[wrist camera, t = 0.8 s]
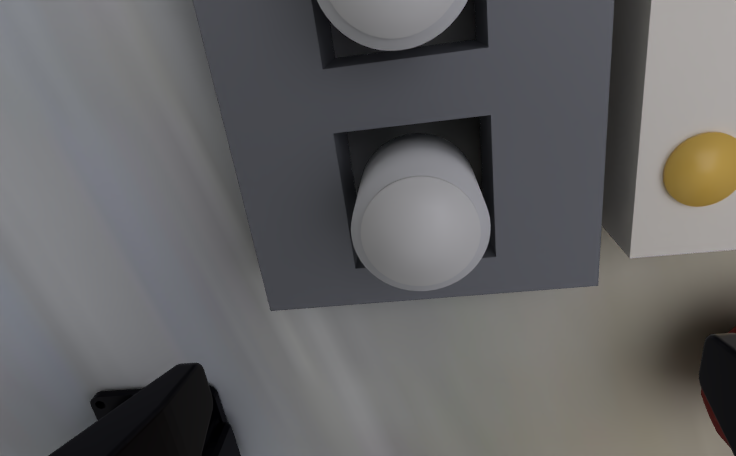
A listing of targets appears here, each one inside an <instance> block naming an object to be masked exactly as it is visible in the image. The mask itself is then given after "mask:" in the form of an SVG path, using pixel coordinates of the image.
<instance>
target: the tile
mask: <svg viewBox="0 0 736 456" xmlns="http://www.w3.org/2000/svg"><path fill="white" fill-rule="evenodd" d="M602 226H603V227H604V229H605V230H606V231H607V232H608V233H609V234H610V236H611V237H612V238H613V239H614V240H615V242H616V243H617V244H618V245H619V246H620V247H621V249H622V250H623V251H624V252H625V253H626V255H627V256H628V257H629V258H640V257H652V256H665V255H677V254H689V253H701V252H713V251H725V250H736V0H614V16H613V33H612V50H611V68H610V85H609V103H608V120H607V138H606V155H605V173H604V190H603V208H602Z"/></svg>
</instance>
